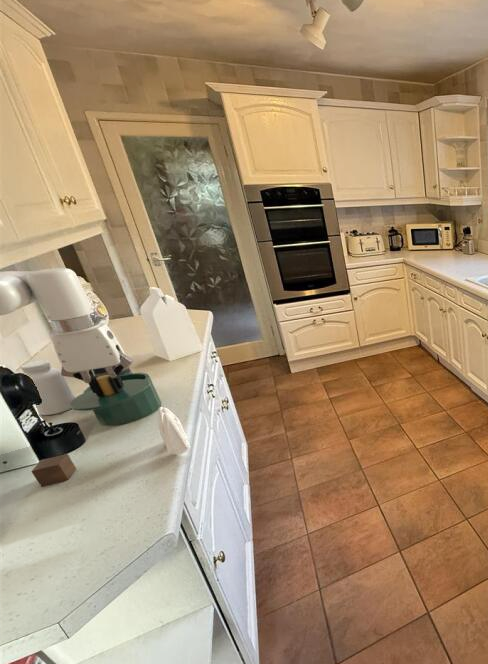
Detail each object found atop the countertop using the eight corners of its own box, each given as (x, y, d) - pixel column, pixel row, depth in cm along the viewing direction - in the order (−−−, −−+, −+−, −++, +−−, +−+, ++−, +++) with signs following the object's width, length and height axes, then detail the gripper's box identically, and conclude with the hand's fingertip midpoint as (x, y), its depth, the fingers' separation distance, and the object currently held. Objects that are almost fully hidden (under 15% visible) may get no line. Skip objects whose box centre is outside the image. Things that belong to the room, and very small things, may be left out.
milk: (155, 355, 153) (127, 290, 143) (189, 344, 162) (165, 283, 152) (170, 361, 148) (142, 293, 137) (204, 350, 157) (180, 286, 146)
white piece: (193, 453, 96) (177, 415, 92) (172, 462, 94) (153, 423, 89) (185, 433, 104) (170, 397, 100) (165, 441, 101) (148, 404, 97)
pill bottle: (82, 406, 119) (57, 361, 112) (43, 419, 112) (15, 372, 106) (74, 399, 122) (50, 355, 116) (36, 411, 116) (9, 365, 110)
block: (41, 487, 87) (30, 471, 85) (50, 475, 90) (41, 459, 88) (68, 480, 89) (58, 464, 87) (76, 468, 92) (67, 453, 90)
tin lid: (60, 419, 90) (47, 397, 87) (86, 392, 101) (75, 372, 99) (141, 402, 96) (132, 381, 93) (157, 378, 108) (148, 359, 105)
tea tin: (91, 431, 106) (74, 400, 102) (109, 407, 117) (94, 379, 113) (155, 417, 112) (141, 387, 108) (166, 396, 123) (154, 369, 119)
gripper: (126, 312, 97) (155, 378, 104) (34, 325, 90) (73, 394, 98) (115, 321, 91) (147, 390, 98) (16, 335, 84) (59, 408, 92)
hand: (110, 391), depth 98 cm, fingers closed on tin lid, 2 cm apart
